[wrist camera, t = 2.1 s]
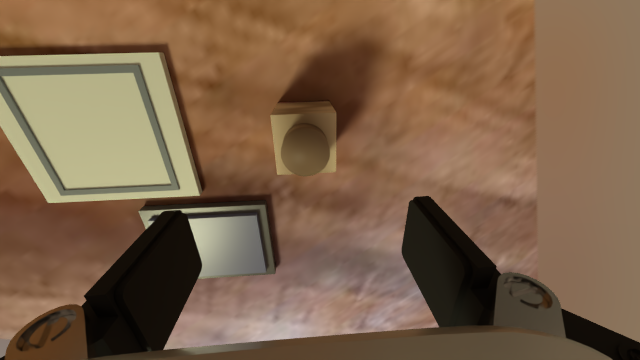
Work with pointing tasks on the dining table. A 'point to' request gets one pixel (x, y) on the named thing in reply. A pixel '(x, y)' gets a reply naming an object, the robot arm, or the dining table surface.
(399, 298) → the dining table surface
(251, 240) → the grey flat block
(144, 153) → the board
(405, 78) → the dining table surface
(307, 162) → the stamp
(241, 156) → the dining table surface
